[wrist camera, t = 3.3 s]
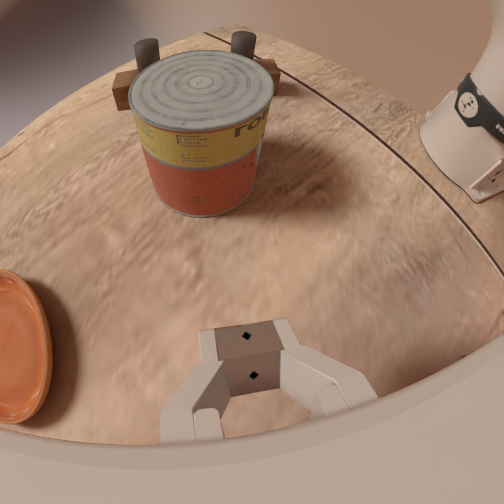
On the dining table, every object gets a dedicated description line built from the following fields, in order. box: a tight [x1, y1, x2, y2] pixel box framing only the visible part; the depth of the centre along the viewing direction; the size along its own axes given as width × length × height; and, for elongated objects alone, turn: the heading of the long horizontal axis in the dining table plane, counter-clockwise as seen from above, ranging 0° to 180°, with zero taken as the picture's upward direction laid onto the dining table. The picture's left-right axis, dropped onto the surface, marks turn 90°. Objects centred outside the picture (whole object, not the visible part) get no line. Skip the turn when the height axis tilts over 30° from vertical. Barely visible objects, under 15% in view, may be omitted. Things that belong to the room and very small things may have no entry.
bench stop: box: [112, 31, 281, 111], centre depth 31 cm, size 22×4×9 cm, turn 100°
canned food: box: [128, 50, 274, 218], centre depth 24 cm, size 11×11×12 cm
